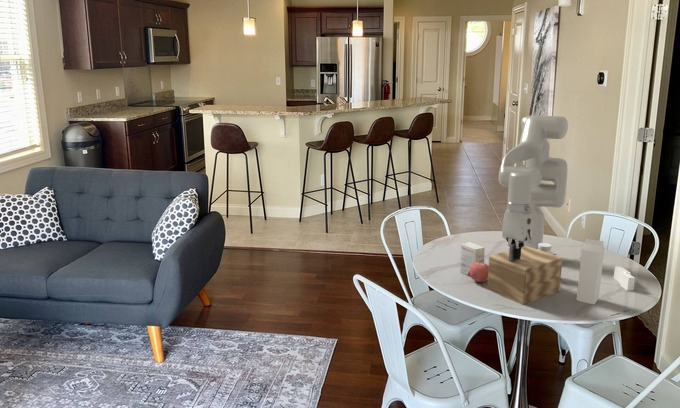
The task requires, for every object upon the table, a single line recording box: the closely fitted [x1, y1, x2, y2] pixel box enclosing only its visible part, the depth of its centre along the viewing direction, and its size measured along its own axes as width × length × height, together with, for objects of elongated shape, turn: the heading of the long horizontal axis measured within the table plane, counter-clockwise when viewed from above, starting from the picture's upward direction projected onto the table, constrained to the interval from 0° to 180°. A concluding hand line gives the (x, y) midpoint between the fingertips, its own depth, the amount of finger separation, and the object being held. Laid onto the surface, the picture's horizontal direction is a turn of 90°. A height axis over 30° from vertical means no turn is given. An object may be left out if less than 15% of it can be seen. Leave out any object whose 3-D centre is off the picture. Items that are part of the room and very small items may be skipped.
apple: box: [470, 262, 489, 283], centre depth 215 cm, size 7×7×8 cm
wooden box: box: [486, 258, 563, 305], centre depth 206 cm, size 20×16×12 cm
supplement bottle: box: [538, 242, 554, 255], centre depth 219 cm, size 7×7×13 cm
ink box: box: [459, 241, 486, 277], centre depth 221 cm, size 9×5×12 cm, turn 32°
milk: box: [576, 238, 605, 305], centre depth 196 cm, size 6×6×22 cm
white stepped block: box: [613, 265, 636, 291], centre depth 211 cm, size 15×11×6 cm
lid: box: [488, 243, 563, 271], centre depth 203 cm, size 20×16×7 cm
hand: (514, 257), depth 201 cm, fingers closed
